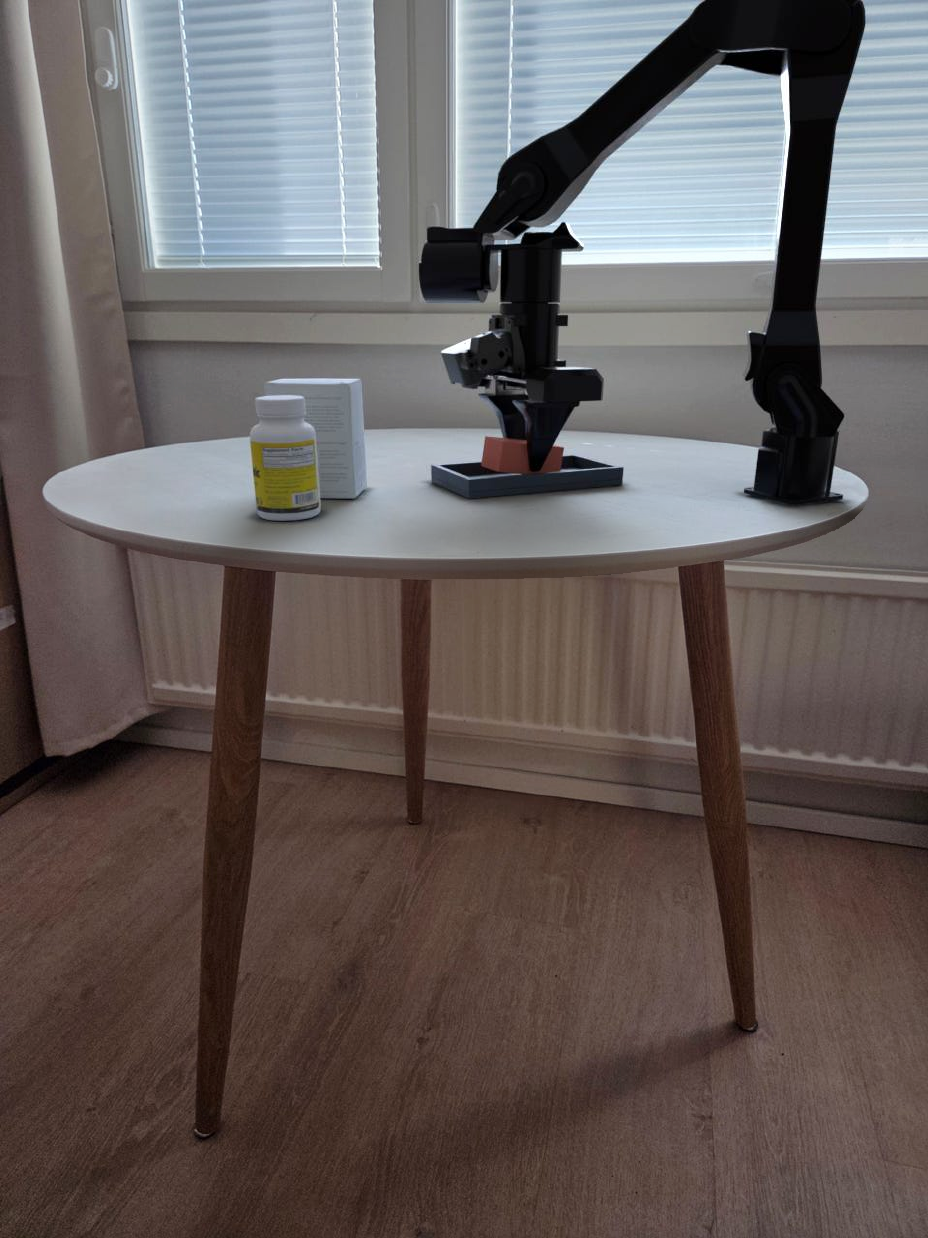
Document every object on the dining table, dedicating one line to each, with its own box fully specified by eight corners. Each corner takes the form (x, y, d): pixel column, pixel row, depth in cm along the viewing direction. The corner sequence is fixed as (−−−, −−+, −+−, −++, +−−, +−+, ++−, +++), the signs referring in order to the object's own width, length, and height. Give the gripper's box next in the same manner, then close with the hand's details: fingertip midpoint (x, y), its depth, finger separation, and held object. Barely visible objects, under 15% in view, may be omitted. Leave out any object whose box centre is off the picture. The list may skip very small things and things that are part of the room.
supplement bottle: (265, 507, 75) (256, 394, 71) (326, 508, 75) (320, 394, 71) (249, 521, 70) (238, 400, 66) (314, 522, 69) (306, 400, 66)
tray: (574, 470, 93) (575, 454, 93) (622, 484, 85) (623, 467, 85) (431, 482, 86) (430, 464, 86) (468, 498, 79) (468, 479, 78)
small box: (368, 488, 83) (364, 377, 80) (355, 500, 78) (350, 382, 74) (288, 486, 84) (281, 377, 80) (271, 498, 79) (262, 381, 75)
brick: (540, 470, 88) (544, 441, 88) (559, 477, 85) (564, 447, 84) (480, 465, 85) (484, 435, 85) (498, 472, 82) (502, 441, 81)
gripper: (415, 303, 85) (417, 458, 90) (497, 301, 69) (493, 490, 74) (513, 304, 89) (509, 452, 95) (612, 302, 73) (601, 481, 79)
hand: (524, 467), depth 85 cm, fingers closed on brick, 4 cm apart
